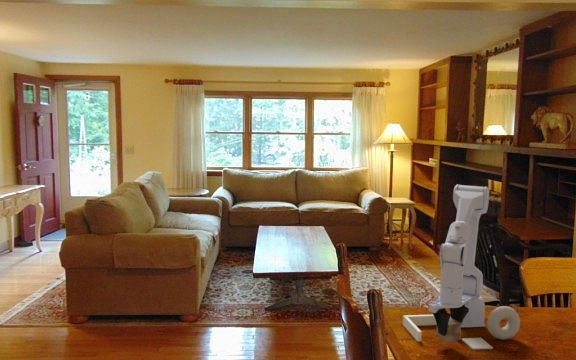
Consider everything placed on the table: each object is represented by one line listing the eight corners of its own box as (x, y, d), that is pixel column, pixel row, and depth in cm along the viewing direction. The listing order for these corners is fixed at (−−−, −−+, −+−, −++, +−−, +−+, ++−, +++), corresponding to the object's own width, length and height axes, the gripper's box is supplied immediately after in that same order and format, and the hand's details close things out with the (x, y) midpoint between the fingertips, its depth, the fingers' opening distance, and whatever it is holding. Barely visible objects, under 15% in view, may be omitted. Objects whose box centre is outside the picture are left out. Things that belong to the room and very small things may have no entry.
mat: (480, 339, 132) (480, 337, 132) (492, 348, 127) (492, 347, 126) (461, 339, 132) (461, 338, 132) (472, 349, 126) (472, 348, 126)
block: (447, 333, 129) (448, 316, 129) (459, 339, 125) (461, 322, 125) (435, 336, 127) (436, 319, 127) (448, 343, 123) (449, 325, 123)
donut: (514, 335, 135) (516, 303, 134) (521, 340, 132) (524, 308, 131) (483, 337, 134) (485, 304, 133) (490, 342, 130) (492, 309, 129)
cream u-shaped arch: (441, 323, 143) (442, 314, 143) (460, 339, 132) (460, 330, 131) (402, 324, 141) (403, 315, 141) (417, 341, 130) (418, 331, 130)
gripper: (458, 277, 131) (455, 322, 133) (421, 284, 125) (418, 331, 126) (478, 285, 125) (475, 331, 127) (441, 293, 118) (438, 342, 120)
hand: (448, 332), depth 126 cm, fingers closed on block, 4 cm apart
